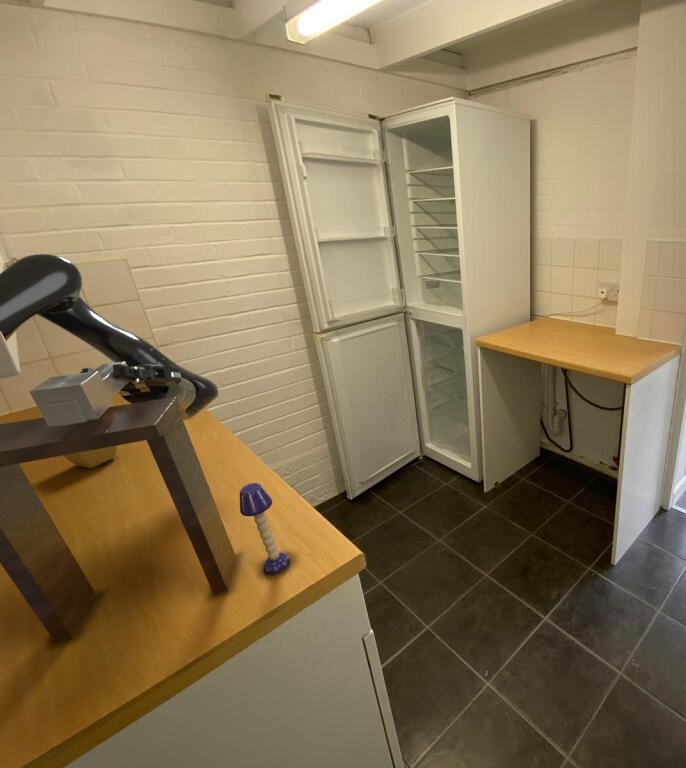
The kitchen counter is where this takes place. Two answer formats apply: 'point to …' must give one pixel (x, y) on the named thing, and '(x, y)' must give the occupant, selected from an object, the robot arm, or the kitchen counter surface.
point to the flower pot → (92, 457)
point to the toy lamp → (263, 525)
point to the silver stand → (77, 395)
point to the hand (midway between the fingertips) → (101, 372)
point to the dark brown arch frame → (43, 540)
